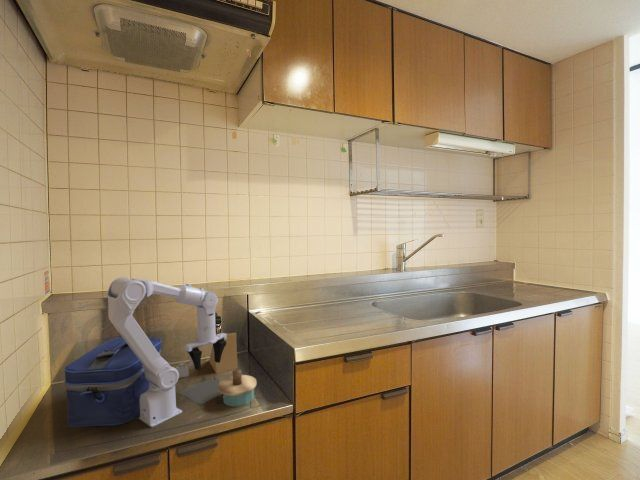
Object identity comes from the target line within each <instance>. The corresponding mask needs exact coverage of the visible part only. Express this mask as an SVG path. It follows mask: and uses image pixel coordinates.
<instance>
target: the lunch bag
mask: <svg viewBox="0 0 640 480" xmlns="http://www.w3.org/2000/svg"><path fill="white" fill-rule="evenodd" d="M148 339H149V340H150V342H151V343H152V345H153V346H154V347H155V349H156V350H157V352H158V353H159V354H160V355H161V352H162V349H161V347H162V342H163V340H162V338H160V337H148ZM142 365H143V364H142V363H141V362H140V360H139V359H138V358H137V356H136V355H135V354H134V352H133V351H132V349H131V348H130V347H129V345H128V344H127V343H126V341H125V340H124V339H123V337H113V338H110V339H108V340H106V341H105V342H103V343H101V344H99V345H98V346H96V347H94V348H93V349H91V350H89V351H88V352H86V353H84V354H83V355H82V356H80V357H78V358H77V359H76V360H74V361H72V362H70V363H69V364H67V365H66V366H65V367H64V378H65V380H64V386H65V388H66V406H67V410H66V411H67V412H66V417H67V418H66V421H67V425H68V426H69V427H70V428H83V427H84V428H85V427H93V426H94V427H96V426H118V425H122V424H126V422H127V423H129V422H131V421H133V420H134V419H136V418H137V417H138V416H140V395H141V394H143V393H144V392H146V391H147V390H148V389H149V381H148V380H147V379H146V378H145V371H144V369H143V368H142Z"/></svg>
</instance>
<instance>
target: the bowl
mask: <svg viewBox="0 0 640 480" xmlns="http://www.w3.org/2000/svg"><path fill="white" fill-rule="evenodd" d="M254 398H255V388H254V389H253V390H251V391H250V392H247V393H245V394H241V395H224V394H222V401H223V404H224V405H226V406H228V407H242V406H245V405H248V404H249V403H251V402H252V401H253V399H254Z"/></svg>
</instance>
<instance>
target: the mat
mask: <svg viewBox="0 0 640 480" xmlns="http://www.w3.org/2000/svg"><path fill="white" fill-rule="evenodd" d="M220 382H221V381H218V380H216V379H213V378H210V379H206V380H205V381H202V382H201V383H198V384H195V385H193V386H191V387H189V388H186V389H185V390H183V391H180V392H178V394H179V395H180V396H183V397H184V398H186V399H188V400H190V401H192V402H194V403H196V404H198V405H200V406H202V405H203V404H205V403H208V402H210V401H211V400H213V399H215V398H217V397H220V396H223V394H221V393H220V392H219V391H218V384H219V383H220Z"/></svg>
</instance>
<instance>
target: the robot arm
mask: <svg viewBox="0 0 640 480" xmlns="http://www.w3.org/2000/svg"><path fill="white" fill-rule="evenodd" d="M151 295H159V296H165V297H170V298H174V300H175V301H176V303H178V304H183V305H189V306H192V307H193V306H194V307H196V315H197V317H196V318H197V319H196V320H197V322H196V323H197V339H195V340H193V341H191V342H190V343H187V344H185V351H186V352H187V354H188V355H189V356H190V359H191V358H192V361H193V366H194V369H195V370H196V371H201V368H202V367H201V366H202V363H201V361H202V353H203V351H202V350H200V348H202V347H204V346H208V345H212V347H213V348H214V359H215V362H217V363H220V360H221V355H222V352H223V349H224V347H225V345H226V341H224V340H226V339H227V334H228V333H225V332H222V333H218V334H216V331H217V330H216V310H217V309H216V307H217V306H218V304H219V298H218V297H217V296H218V295H217V294H216V293H215V291H210V290H206V289H205V288H204V287H194V286H193V285H192V284H189V283H185V284H181V285H179V286H178V287H176V286H172V285H169V284H165V283H161V282H157V281H154V280H148V279H140V278H128V277H125V276H124V277H123V276H121V277H118V278H116V279H114V280H113V281H112V282H111V283H110V284H109V287H108V290H107V291H106V297H107V300H108V301H107V302H108V304H107V305H108V308H107V311H108V313H107V314H108V315H107V317H108V319H109V322H110V323H111V324H112V325H113V327H114V328H115V329H116V330H117V332H118V333H119V335H120V336H121V338H123V339H124V340H125V341H126V343H127V344H128V345H129V347H130V348H131V349H132V351H133V352H134V354H135V355H136V356H137V358H138V359H139V360H140V362H141V363H142V364H143V365H142V368H143V369H144V371H145V378H146V379H147V380H148V381H149V389H148V390H147V391H146V392H144V393H143V394H141V395H140V414H139V417H138V419H139V420H141V421H142V422H143V423H145V424H146V425H148V426H149V427H151V428H154V427H156V426H157V425H160V424H161V423H163V422H165V421H167V420H170V419H171V418H174V417H176V416H177V415H179V414H182V413H183V410H181V409H180V408H178V407H177V397H176V396H177V395H176V384H177V382H178V380H179V379H180V378H179V372H178V370H177V367H173V366H171V365H170V364H169V362H168V361H166V360H165V358H163V357H162V356H161V353H160V354H159V353H158V352H157V350H156V349H155V347H154V346H153V345H152V343H151V342H150V340H149V339H148V338H149V337H148V336H147V334H146V333H145V331H144V330H143V329H142V328H141V326H140V324H139V323H138V322H137V320H136V319H135V317H134V316H133V314H134V313H135V309H136V308H137V307H138V306H139V304H141V302H142V300H143V299H144V298H145V297H146V298H149V297H150V296H151Z"/></svg>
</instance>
